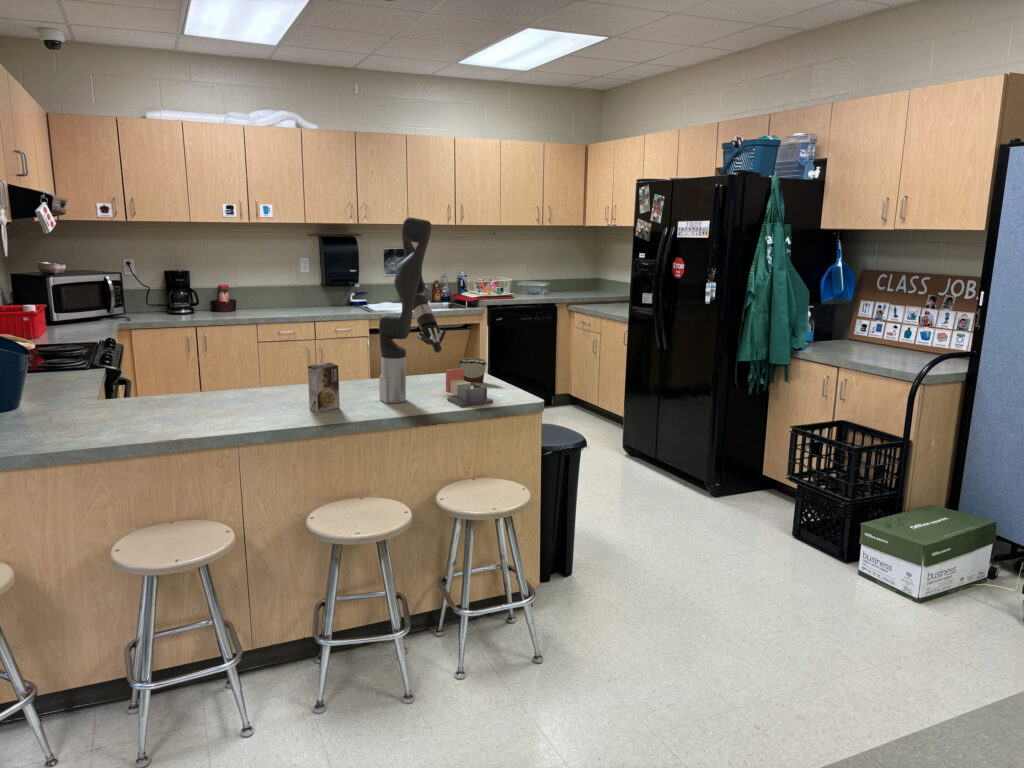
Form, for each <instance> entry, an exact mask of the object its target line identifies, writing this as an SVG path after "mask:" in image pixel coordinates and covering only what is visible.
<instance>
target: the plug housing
mask: <svg viewBox="0 0 1024 768" xmlns="http://www.w3.org/2000/svg"><path fill="white" fill-rule="evenodd" d="M447 400H448V401H447ZM446 401H447V402H449V401H450V402H449V403H451V402H452V404H453V403H454V405H455V404H456V406H457V405H458V406H457V407H460V408H465V407H466V408H467V406H468V407H473V406H481V405H488V403H489V404H494V399H491V398H489V397H488V387H487V386H484V385H483V384H482V385H481V384H478V383H473V388H471V389H468V388H466V387H463V386H461V385H458V386H457V395H455V396H450V397H447V398H446Z"/></svg>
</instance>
